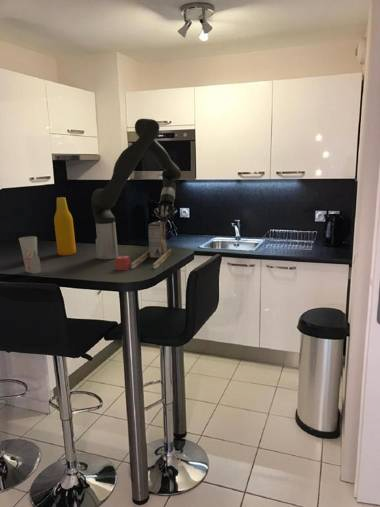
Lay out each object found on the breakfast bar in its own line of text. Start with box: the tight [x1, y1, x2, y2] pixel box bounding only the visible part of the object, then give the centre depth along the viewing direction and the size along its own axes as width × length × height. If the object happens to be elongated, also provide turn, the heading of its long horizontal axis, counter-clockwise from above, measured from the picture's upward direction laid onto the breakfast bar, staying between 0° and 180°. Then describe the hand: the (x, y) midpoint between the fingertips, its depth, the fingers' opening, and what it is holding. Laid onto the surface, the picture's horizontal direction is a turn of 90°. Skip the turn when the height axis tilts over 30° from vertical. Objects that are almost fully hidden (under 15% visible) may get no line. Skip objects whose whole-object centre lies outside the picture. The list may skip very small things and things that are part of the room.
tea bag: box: [23, 249, 42, 275], centre depth 179 cm, size 4×7×10 cm, turn 49°
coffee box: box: [147, 221, 168, 258], centre depth 199 cm, size 9×6×16 cm
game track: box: [130, 248, 173, 270], centre depth 191 cm, size 11×30×2 cm, turn 169°
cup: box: [18, 235, 38, 260], centre depth 196 cm, size 8×8×12 cm
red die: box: [114, 255, 132, 271], centre depth 178 cm, size 5×5×5 cm
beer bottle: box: [53, 196, 77, 256], centre depth 210 cm, size 9×9×29 cm
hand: (163, 224), depth 210 cm, fingers closed
